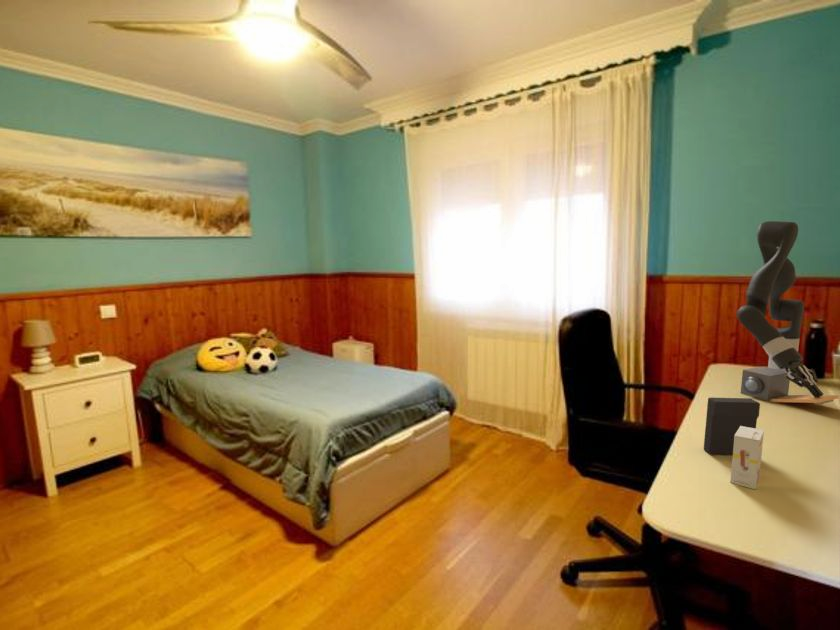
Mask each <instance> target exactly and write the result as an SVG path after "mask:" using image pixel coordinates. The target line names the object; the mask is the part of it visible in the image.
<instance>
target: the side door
mask: <svg viewBox="0 0 840 630" xmlns="http://www.w3.org/2000/svg"><path fill="white" fill-rule="evenodd" d="M839 396H840V395H839V394H823V396H820V397H817V398H815V397H814V396H813V395H812V394H788V396H783V397H779V398H774V399H771V400H769V402H772V403H809V404H811V403H813V404H814V405H823V404H827V403H832V402H834V400H836V399H839V398H840V397H839Z"/></svg>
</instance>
